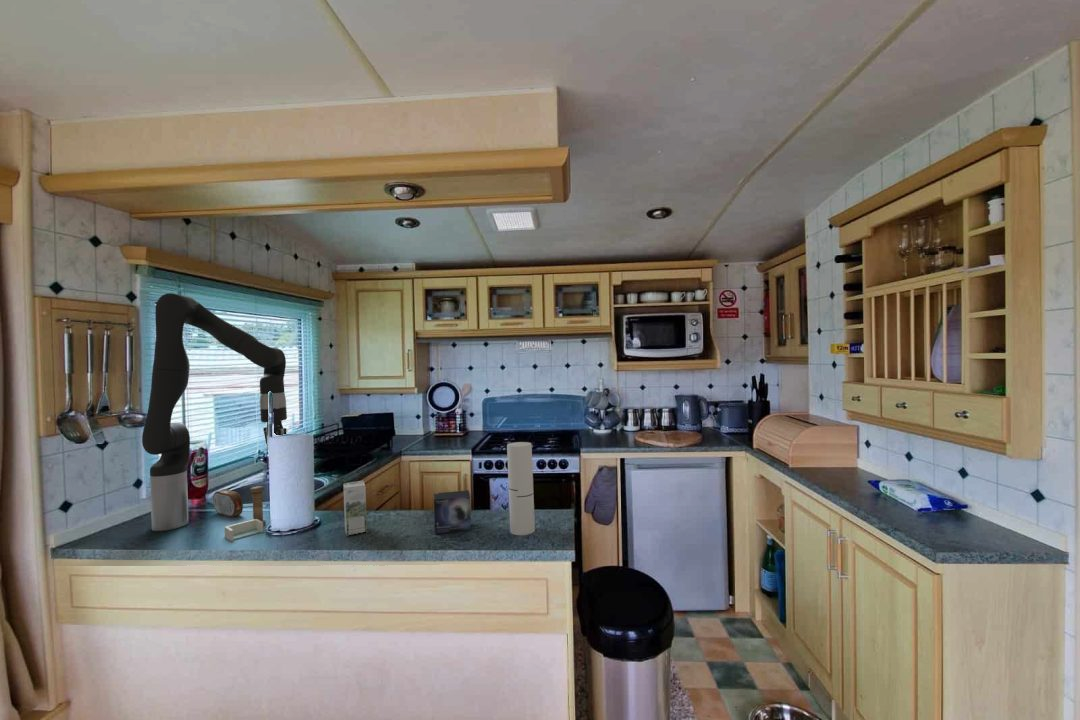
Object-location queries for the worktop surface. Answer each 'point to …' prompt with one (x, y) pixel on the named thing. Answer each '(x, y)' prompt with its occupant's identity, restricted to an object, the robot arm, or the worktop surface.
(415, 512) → the worktop surface
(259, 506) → the bobbin
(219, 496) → the bread slice
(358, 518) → the syrup box
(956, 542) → the worktop surface
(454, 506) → the small box
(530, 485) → the cylindrical container
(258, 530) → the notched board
